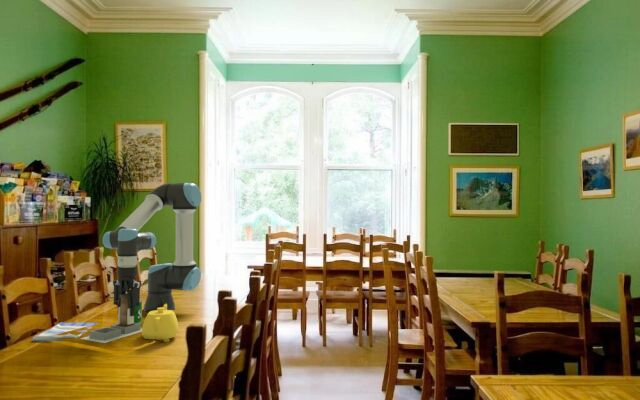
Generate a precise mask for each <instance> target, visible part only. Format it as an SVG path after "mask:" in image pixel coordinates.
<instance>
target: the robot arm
mask: <svg viewBox="0 0 640 400" xmlns="http://www.w3.org/2000/svg"><path fill="white" fill-rule="evenodd" d="M201 193H202V191H201V190H200V188H199V186H198V185H197V184H195V183H191V182H167V183H163V184H161V185H158V186H157V187H156V188H154V189H152V190H151V191H150V192H149V193H148V194H147V195H145V197H144V201H143V202H142V203H140V205H139V206H138V207H137V208H136V209H135V210H133V212H132V213H130V214H129V216H128V217H127V218H125V220H124V221H123V222H122V223H121V224H120V225H119V226H118V227H117V228H116V229H115V230H114V231H112V230H111V231H107V232H105V233H104V235H103V236H102V240H101V241H102V244H103V246H104V248H107V249H111V250H112V249H113V250H117V266H118V267H117V270H116V275H117V277H118V278H117V280H113V281H112V285H113V305H116V307H117V317H118V318H117V324H119V323H120V308H121V297H120V294H125V293H127V295H128V302H129V307H128V312H127V325H129V324H133V323H134V316H135V307H137V306H139V301H140V299H141V297H140V295H141V287H142V286H141V285H142V282H138V281H137V279H136V276H137V274H138V267H137V265H138V252H139V251H144V250H151V249H153V248H154V247H156V245H157V237H156V235H155V234H154V232H149V231H144V232H140V230H141V229H142V227H143V226H145V224H146V223H147V222H148V221H149V220H150V219H151V218H152V217H153V216H154V214H155V213H157V211H161V210H162V209H163V208H165V207H169V206H170V207H172V211H173V212H174V213H175V261H173V263H170V262H168V263H160V264H153V265H150V266H149V267H148V271H147V295H146V299H145V302H144V304H143V311H144V312H147V313H149V312H150V311H154V310H157V308H160V307H163V306H164V304H167V310H173V311H174V310H175V309H176V304H175V301H174V296H173V290H175V291H176V290H177V291H185V292H186V291H194V290H195V289H197V287H198V285H199V284H200V282H201V278H202V277H201V276H202V271H201V269H200V268H199V267H197V262H196V261H195V260H194V213H195V212H196V211H197V207H199V206H200V204H201V202H202V194H201ZM132 304H133V305H132Z"/></svg>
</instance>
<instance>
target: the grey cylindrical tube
mask: <svg viewBox="0 0 640 400" xmlns="http://www.w3.org/2000/svg"><path fill="white" fill-rule="evenodd" d="M120 297H121V308H120V326H121V327H128V326H131V325H132V324H129V325H127V312H128V307H129V302H128V295H127V292H126V293H125V294H120Z"/></svg>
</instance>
